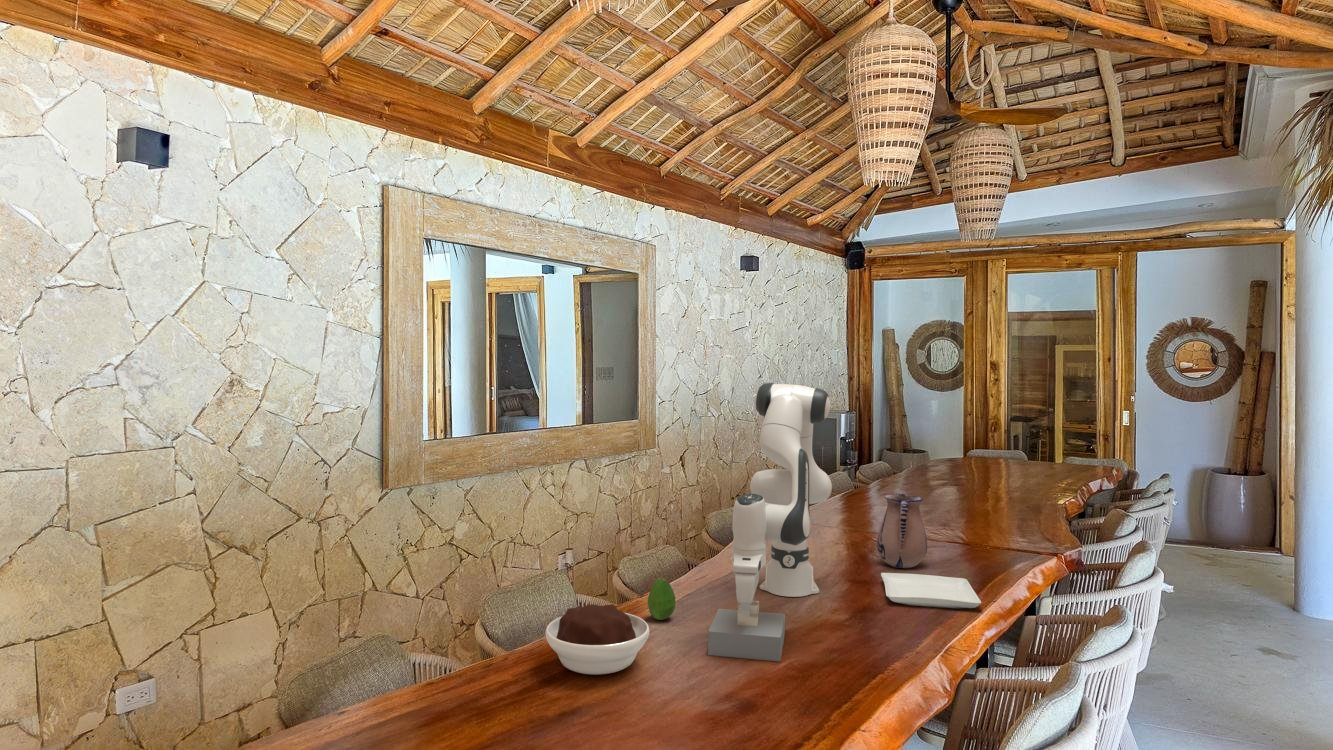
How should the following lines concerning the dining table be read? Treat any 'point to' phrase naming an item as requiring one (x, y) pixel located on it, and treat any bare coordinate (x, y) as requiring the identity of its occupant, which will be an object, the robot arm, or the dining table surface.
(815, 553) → the dining table surface
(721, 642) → the pedestal
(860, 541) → the dining table surface
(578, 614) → the chocolate pudding bowl
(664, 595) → the avocado
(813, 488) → the robot arm
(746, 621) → the cream cube
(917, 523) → the ceramic pitcher
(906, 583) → the square plate
